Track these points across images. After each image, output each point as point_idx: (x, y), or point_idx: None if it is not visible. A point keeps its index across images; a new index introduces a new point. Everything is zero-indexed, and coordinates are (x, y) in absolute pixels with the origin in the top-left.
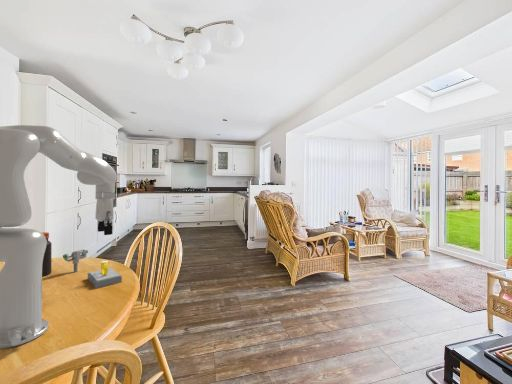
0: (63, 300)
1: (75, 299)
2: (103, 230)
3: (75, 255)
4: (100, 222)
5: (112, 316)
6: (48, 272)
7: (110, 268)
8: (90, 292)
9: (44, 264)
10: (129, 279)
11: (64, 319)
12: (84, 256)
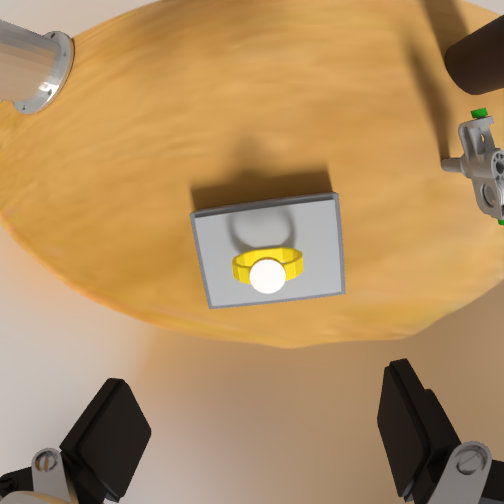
0: (151, 112)
1: (138, 145)
2: (381, 411)
3: (482, 162)
4: (427, 478)
5: (22, 232)
6: (458, 80)
7: (334, 288)
8: (169, 189)
9: (471, 57)
10: (224, 325)
11: (48, 136)
12: (482, 204)
